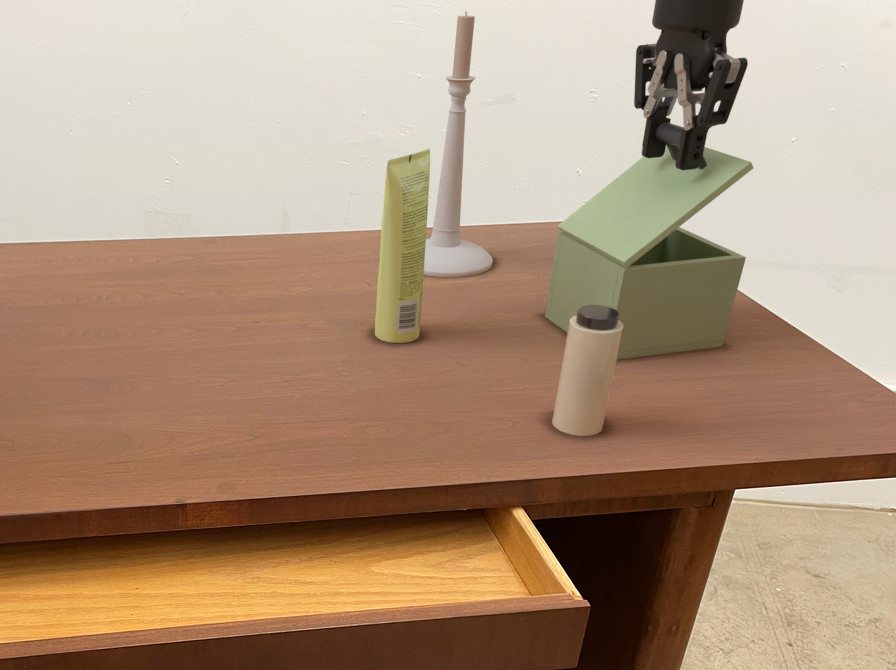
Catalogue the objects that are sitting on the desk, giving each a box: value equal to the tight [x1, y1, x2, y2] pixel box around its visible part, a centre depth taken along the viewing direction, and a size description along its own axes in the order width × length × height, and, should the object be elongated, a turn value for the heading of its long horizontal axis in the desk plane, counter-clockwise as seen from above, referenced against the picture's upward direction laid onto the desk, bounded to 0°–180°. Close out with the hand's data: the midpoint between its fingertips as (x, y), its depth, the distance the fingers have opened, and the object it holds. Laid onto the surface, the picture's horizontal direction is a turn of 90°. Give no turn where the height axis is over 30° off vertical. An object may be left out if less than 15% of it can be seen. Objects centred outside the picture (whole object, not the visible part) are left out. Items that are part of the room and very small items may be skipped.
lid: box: [557, 122, 754, 268], centre depth 93 cm, size 15×13×5 cm
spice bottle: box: [551, 305, 623, 437], centre depth 81 cm, size 4×4×11 cm
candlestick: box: [424, 11, 494, 278], centre depth 116 cm, size 13×13×30 cm
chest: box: [544, 226, 747, 360], centre depth 100 cm, size 14×13×10 cm
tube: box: [374, 147, 431, 344], centre depth 97 cm, size 6×5×20 cm
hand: (669, 161), depth 93 cm, fingers closed on lid, 5 cm apart
